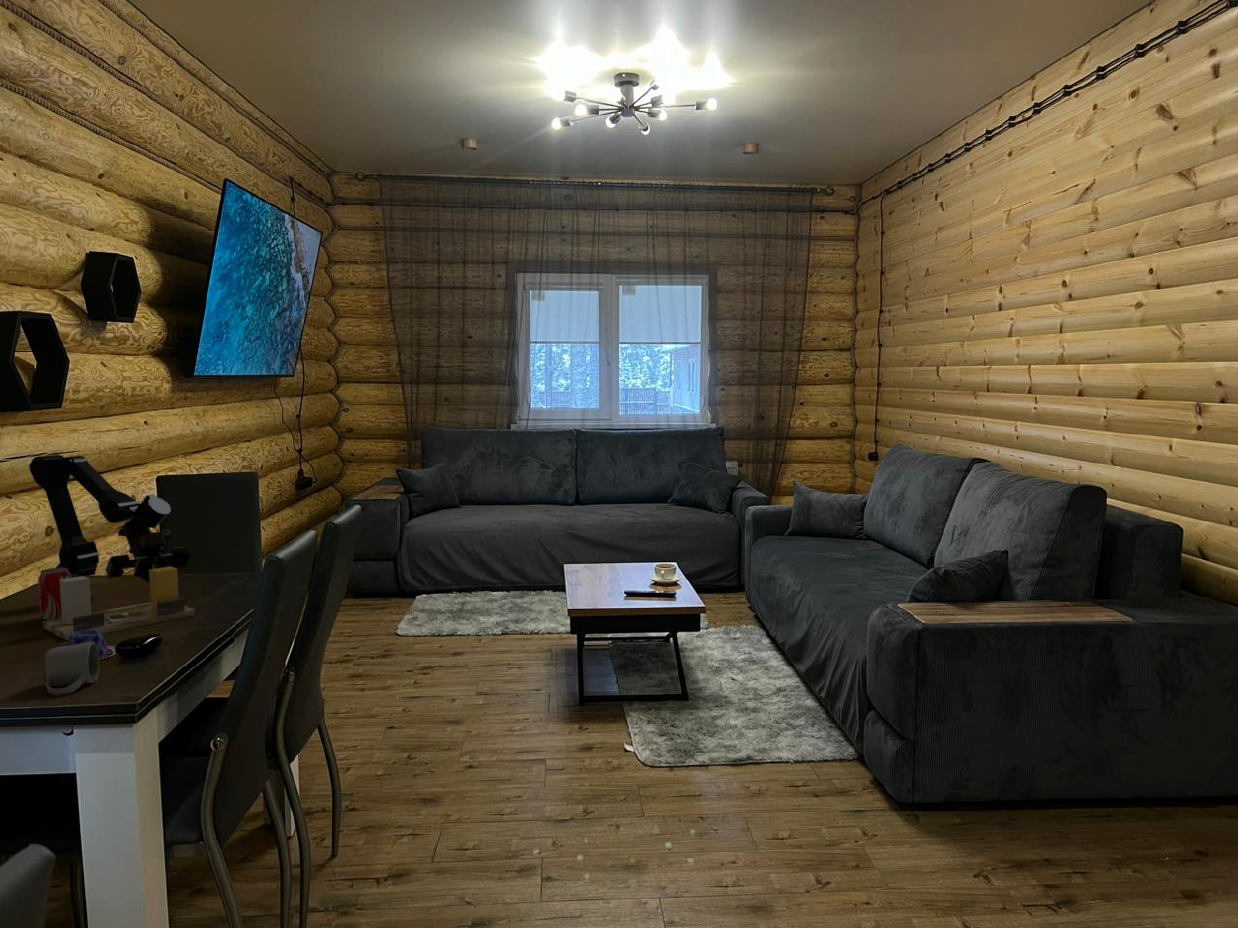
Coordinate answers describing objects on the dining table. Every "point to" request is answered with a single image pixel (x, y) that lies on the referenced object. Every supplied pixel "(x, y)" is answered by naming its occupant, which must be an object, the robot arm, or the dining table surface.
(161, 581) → the large amber box
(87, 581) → the white tall rectangular block
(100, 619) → the key board
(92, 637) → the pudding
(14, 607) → the dining table surface
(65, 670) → the ceramic mug
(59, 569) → the soda can
